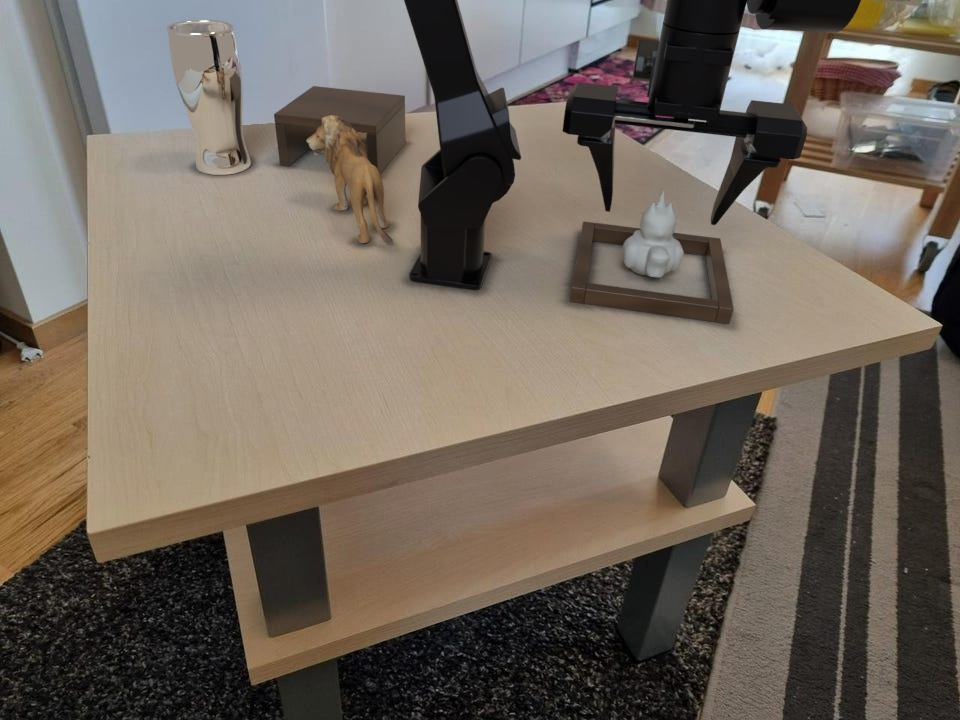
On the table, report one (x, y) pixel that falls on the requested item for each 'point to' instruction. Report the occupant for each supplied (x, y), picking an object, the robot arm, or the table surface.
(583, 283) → the brown rectangular frame
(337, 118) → the lion figurine
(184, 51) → the beer glass
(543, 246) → the table surface
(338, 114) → the small brown stand
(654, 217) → the white figurine
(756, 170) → the robot arm
